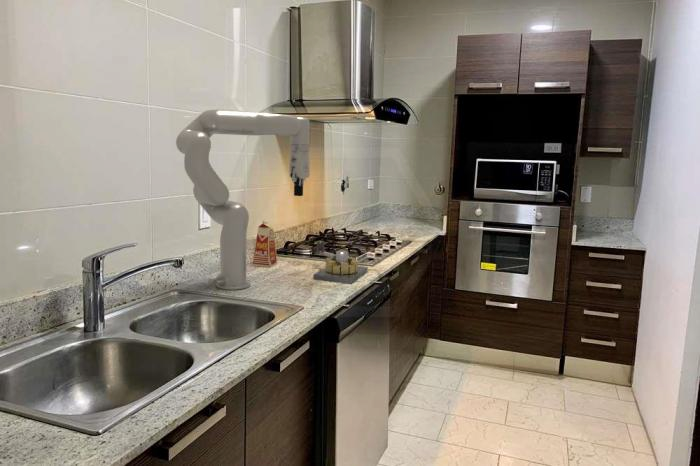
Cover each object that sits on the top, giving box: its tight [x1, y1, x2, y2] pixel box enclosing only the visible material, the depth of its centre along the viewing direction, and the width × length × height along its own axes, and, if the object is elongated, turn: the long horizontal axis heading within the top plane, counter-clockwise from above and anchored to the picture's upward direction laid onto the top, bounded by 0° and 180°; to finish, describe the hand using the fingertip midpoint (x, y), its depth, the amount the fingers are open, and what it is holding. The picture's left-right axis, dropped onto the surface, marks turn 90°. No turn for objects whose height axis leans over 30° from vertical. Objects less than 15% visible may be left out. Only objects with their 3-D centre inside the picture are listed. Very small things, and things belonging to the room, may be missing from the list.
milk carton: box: [251, 220, 278, 268], centre depth 228 cm, size 9×9×20 cm
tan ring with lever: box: [316, 240, 359, 274], centre depth 218 cm, size 23×13×10 cm, turn 42°
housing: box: [312, 250, 369, 285], centre depth 215 cm, size 22×16×10 cm
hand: (298, 195), depth 207 cm, fingers closed
